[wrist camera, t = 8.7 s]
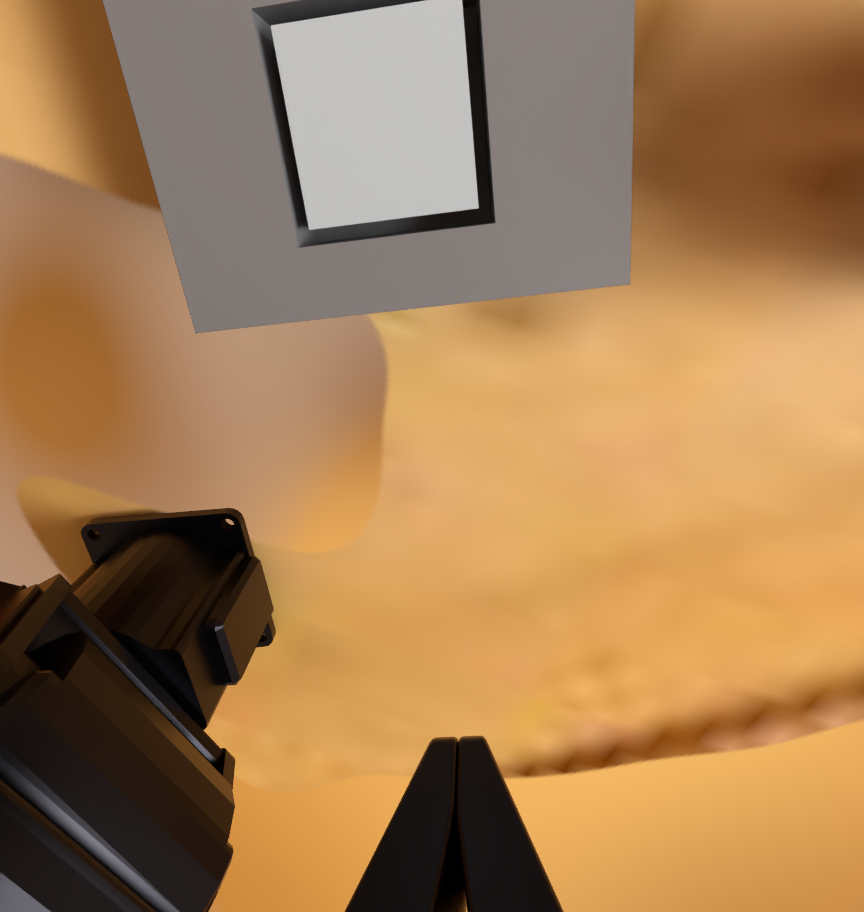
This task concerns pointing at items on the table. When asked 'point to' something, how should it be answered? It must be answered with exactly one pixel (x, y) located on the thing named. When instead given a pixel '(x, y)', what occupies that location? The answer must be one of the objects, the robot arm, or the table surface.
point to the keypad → (397, 240)
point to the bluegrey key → (380, 112)
